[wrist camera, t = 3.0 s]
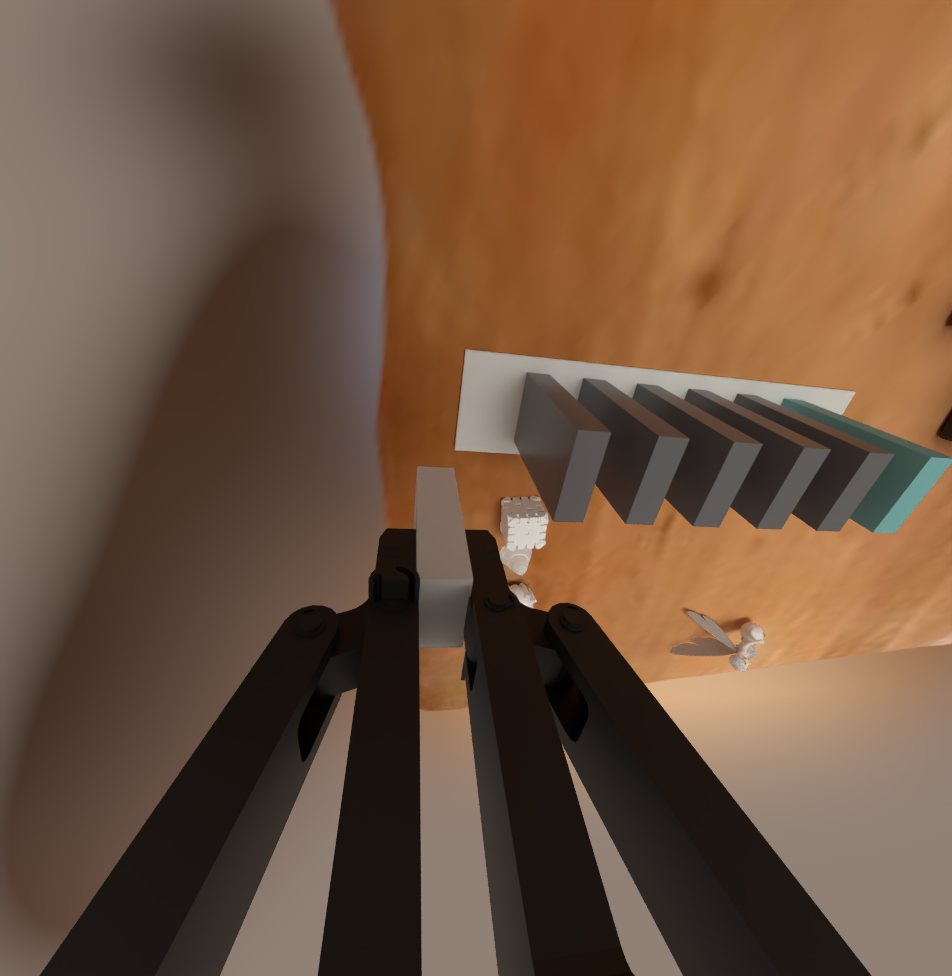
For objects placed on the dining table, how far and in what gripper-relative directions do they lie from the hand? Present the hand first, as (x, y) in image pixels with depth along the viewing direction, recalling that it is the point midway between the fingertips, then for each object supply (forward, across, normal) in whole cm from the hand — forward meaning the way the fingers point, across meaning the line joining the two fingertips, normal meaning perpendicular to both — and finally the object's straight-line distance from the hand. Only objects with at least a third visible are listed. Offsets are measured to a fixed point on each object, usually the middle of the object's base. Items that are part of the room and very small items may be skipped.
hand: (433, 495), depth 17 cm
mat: (+12, +17, 0) cm, 21 cm away
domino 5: (+12, +23, 0) cm, 26 cm away
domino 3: (+12, +15, 0) cm, 19 cm away
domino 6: (+12, +27, 0) cm, 30 cm away
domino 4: (+12, +19, 0) cm, 22 cm away
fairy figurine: (+13, +36, -22) cm, 44 cm away
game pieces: (+13, +9, -13) cm, 20 cm away
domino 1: (+12, +7, 0) cm, 14 cm away
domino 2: (+12, +11, 0) cm, 16 cm away
